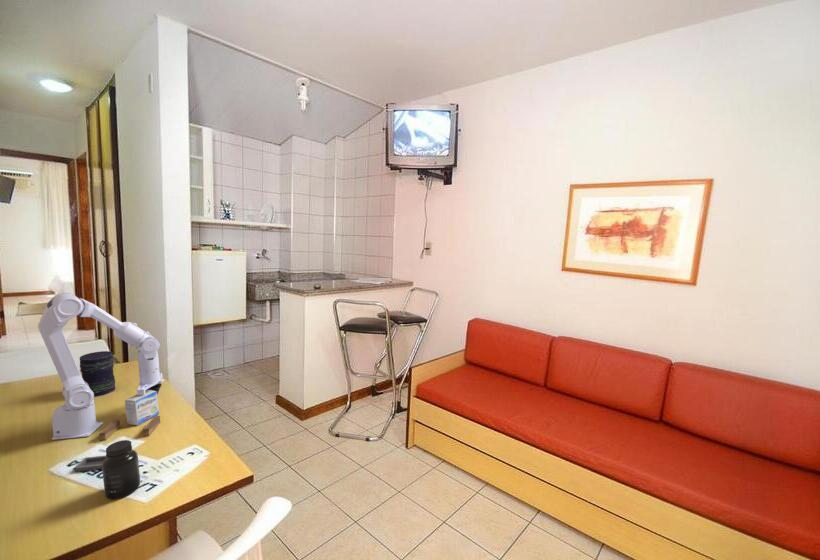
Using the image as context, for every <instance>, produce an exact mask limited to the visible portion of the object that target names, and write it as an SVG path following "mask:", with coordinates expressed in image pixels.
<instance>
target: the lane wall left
mask: <svg viewBox="0 0 820 560" xmlns="http://www.w3.org/2000/svg"><path fill="white" fill-rule="evenodd" d="M119 428H121V420H120V419H117V418H116V419H113V420H112V421H111V422H110V423H109V424H108V425H106V426H105V428H104V429H102V430H101V431H100V432H99V441H100V442H103V441H107V440H108V439H109V438H110V437H111V436H112V435H113V434H114V433H115V432H116V431H117V430H118V429H119Z"/></svg>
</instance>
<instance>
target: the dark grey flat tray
mask: <svg viewBox="0 0 820 560" xmlns="http://www.w3.org/2000/svg"><path fill="white" fill-rule="evenodd" d="M105 458H107V457H106V455H100V456H98V455H97V456H90V457H89V456H88V457H84V458H83V459H82V460H81V461H79V463H78V464H77V465H76V466H75V467H74V473H80V472H79V471H82V472H90V471H89V470H91V471H95V470H94V469H100V470H102V463H103V461H104V460H105Z"/></svg>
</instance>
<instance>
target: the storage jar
mask: <svg viewBox="0 0 820 560" xmlns="http://www.w3.org/2000/svg"><path fill="white" fill-rule="evenodd" d="M113 355H114V354H113V352H112V351H109V350H108V351H107V350H105V351H104V350H103V351H95V352H89V353H85V354H83V355H81V356H79V368H80V369H79V372H80V374H81V376H82V378H83V380H84V381H85V382H87V383H88V385H89V388H90V389H91V390H92V391H93V393H94V398H97V397H102V396H105V395H109V394H111V393H113V392H115V390H116V378H115V374H114V365H115V364H114V356H113Z"/></svg>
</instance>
